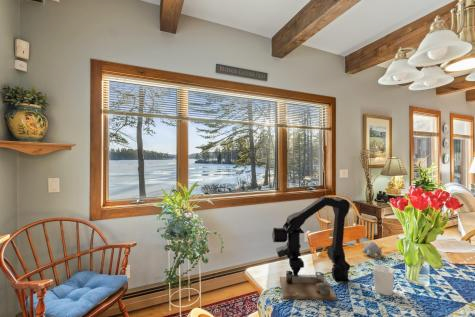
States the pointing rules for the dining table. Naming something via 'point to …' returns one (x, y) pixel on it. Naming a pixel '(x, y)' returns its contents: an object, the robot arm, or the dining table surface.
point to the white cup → (383, 279)
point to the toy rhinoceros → (372, 249)
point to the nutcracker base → (307, 290)
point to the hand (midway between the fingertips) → (293, 273)
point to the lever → (304, 278)
